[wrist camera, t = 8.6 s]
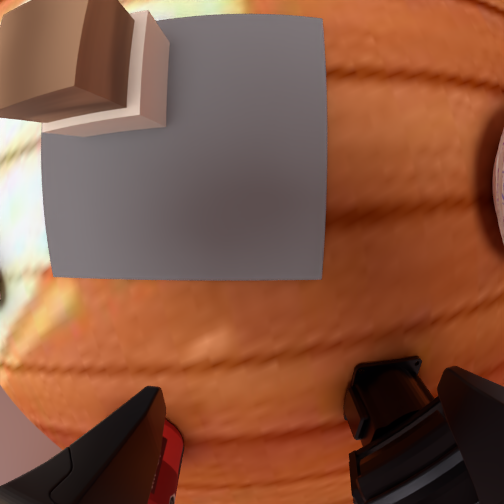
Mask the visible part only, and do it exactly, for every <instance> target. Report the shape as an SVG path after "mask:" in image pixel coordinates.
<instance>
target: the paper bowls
mask: <svg viewBox="0 0 504 504" xmlns="http://www.w3.org/2000/svg"><path fill="white" fill-rule="evenodd" d="M493 199H494V206H495V211H496V215H497V218H498V225H499V229H500V233H501V236H502V240H503V244H504V129H503V132H502V135H501V137H500V143H499V146H498V151H497V154H496V158H495V162H494V169H493Z"/></svg>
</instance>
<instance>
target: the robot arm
mask: <svg viewBox="0 0 504 504" xmlns="http://www.w3.org/2000/svg"><path fill="white" fill-rule="evenodd" d="M421 363H422V360H421V359H420V358H419V357H411V358H404V359H398V360H391V361H383V362H376V363H367V364H360V365H358V366H356V367H355V369H354V374H353V378H352V383H351V386H350V387H349V388H348V390H347V394H346V399H345V403H344V407H343V409H344V419H345V420H348V423H349V426H350V429H351V431H352V434H353V437H354V439H356V440H361V443H362V445H363V447H362V448H360V449H359V450H357V451H353V452H351V453H349V460H350V462H349V467H350V478H351V490H352V496H353V503H354V504H504V387H503V386H501V385H498V384H496V383H494V382H492V381H489V380H487V379H485V378H482V377H480V376H478V375H476V374H473V373H471V372H469V371H466V370H464V369H462V368H460V367H457V366H452V367H448V368H446V369H445V370H444V372H443V375H442V377H441V380H440V382H439V385H438V388H437V391H438V396H437V397H436V398H435V399H434V397H433V396H432V394H431V393H430V392H429V390H428V389H427V387H426V386H425V385H424V383H423V382H422V380H421V379H420V378H419V376H418V372H419V369H420V366H421ZM361 369H362V370H361ZM360 370H361V371H360ZM165 416H166V406H165V402H164V397H163V393H162V390H161V388H160V387H156V386H146V387H145V388H144V389H142V390H141V391H140V392H139V393H137V394H136V395H135V396H134V397H132V398H131V399H130V400H128V401H127V402H126V403H125V404H123V405H122V406H121V407H119V408H118V409H117V410H116V411H114V412H113V413H112V414H110V415H109V416H108V417H107V418H105V419H104V420H103V421H101V422H100V423H99V424H97V425H96V426H95V427H93V428H92V429H91V430H89V431H88V432H87V433H86V434H84V435H83V436H82V437H80V438H79V439H77V440H76V441H75V442H73V443H72V444H71V445H70V446H69V447H70V448H69V447H67V448H65V449H64V450H62V451H61V452H60V453H58V454H57V455H55V456H54V457H52V458H51V459H50V460H48V461H47V462H45V463H43V464H41V465H40V466H38V467H36V468H35V469H33V470H31V471H29V472H27V473H25V474H24V475H22V476H20V477H18V478H16V479H14V480H12V481H10V482H8V483H6V484H4V485H1V486H0V504H147V503H148V499H149V496H150V492H151V488H152V484H153V480H154V476H155V473H156V469H157V465H158V461H159V457H160V452H161V445H162V437H163V430H164V423H165Z"/></svg>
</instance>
